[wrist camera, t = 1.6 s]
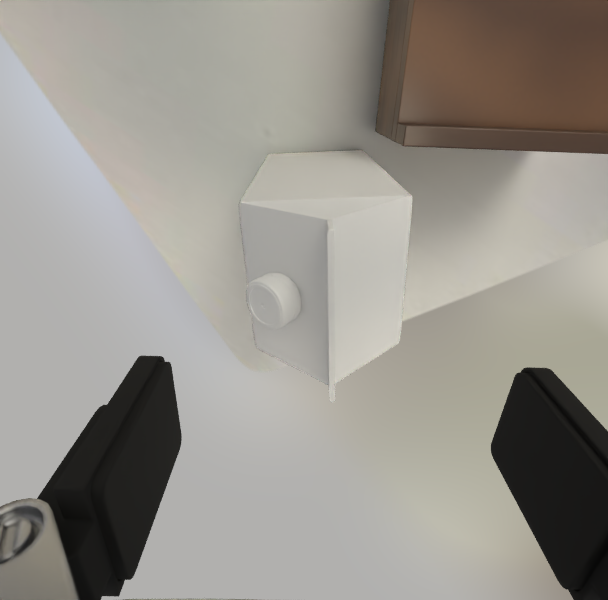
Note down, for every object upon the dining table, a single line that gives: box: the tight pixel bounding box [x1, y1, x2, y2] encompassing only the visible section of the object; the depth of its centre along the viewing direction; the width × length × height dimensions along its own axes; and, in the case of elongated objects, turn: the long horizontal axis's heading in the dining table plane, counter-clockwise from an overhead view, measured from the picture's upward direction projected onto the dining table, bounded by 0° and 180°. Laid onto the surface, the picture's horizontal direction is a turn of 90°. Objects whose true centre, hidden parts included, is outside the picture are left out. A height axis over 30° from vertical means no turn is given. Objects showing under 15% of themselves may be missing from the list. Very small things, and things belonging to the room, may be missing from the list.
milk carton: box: [239, 150, 412, 402], centre depth 22 cm, size 7×7×19 cm
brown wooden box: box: [376, 0, 608, 154], centre depth 21 cm, size 14×12×9 cm
